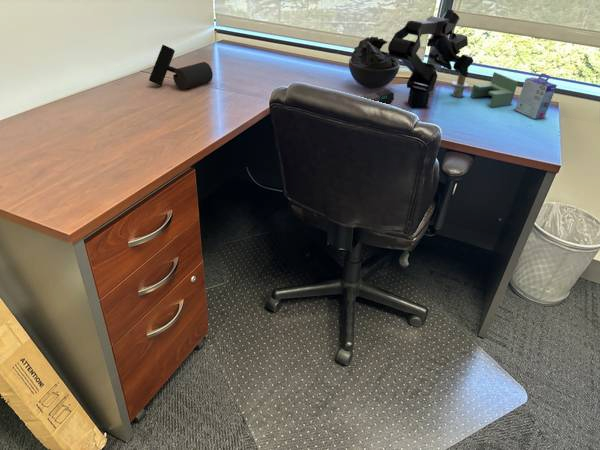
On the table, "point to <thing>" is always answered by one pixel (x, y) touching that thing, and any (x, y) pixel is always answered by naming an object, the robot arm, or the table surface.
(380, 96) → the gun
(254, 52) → the table surface
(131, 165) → the table surface
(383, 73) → the bowl of black rocks
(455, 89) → the cylinder on round base
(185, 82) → the track light
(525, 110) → the ink cartridge box
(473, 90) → the rack
